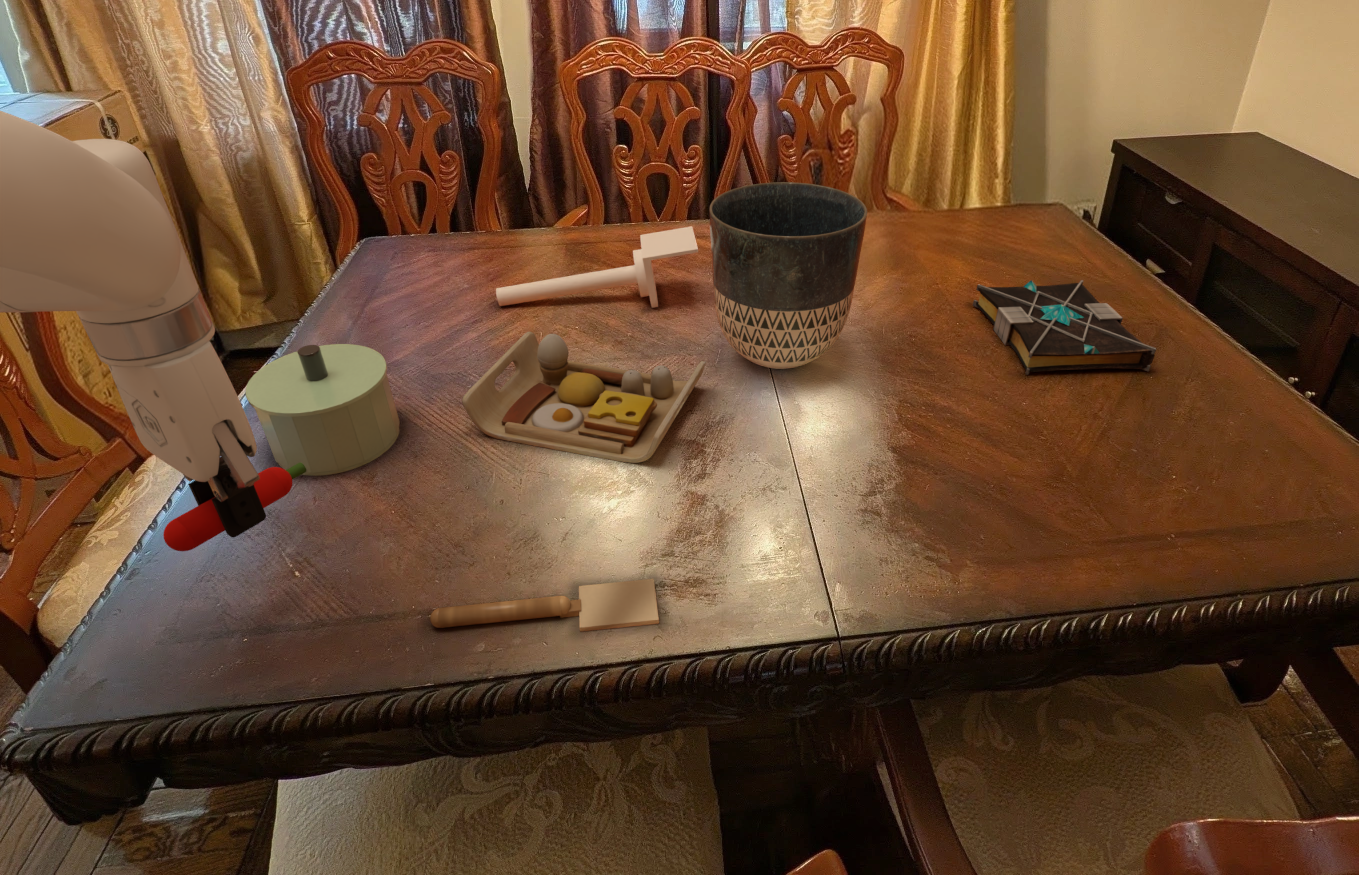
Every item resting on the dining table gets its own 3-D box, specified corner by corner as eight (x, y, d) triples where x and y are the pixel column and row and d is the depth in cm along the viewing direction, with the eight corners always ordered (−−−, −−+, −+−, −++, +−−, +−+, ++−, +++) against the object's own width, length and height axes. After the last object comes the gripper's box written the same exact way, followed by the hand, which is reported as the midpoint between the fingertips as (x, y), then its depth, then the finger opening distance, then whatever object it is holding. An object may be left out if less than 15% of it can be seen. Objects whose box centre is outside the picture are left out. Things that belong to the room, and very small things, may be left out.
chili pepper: (182, 563, 64) (168, 537, 62) (164, 550, 65) (150, 523, 63) (317, 484, 72) (308, 459, 70) (298, 474, 73) (289, 449, 72)
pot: (322, 491, 90) (299, 429, 85) (249, 448, 97) (224, 389, 92) (424, 429, 99) (409, 370, 94) (351, 394, 106) (334, 337, 101)
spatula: (428, 647, 72) (424, 634, 70) (436, 604, 76) (432, 591, 75) (659, 623, 73) (658, 610, 72) (653, 582, 77) (653, 569, 76)
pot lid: (300, 437, 85) (286, 401, 82) (221, 394, 92) (207, 359, 89) (415, 374, 95) (407, 340, 92) (336, 340, 102) (326, 307, 100)
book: (1150, 372, 107) (1162, 339, 104) (1025, 377, 106) (1033, 344, 104) (1077, 300, 124) (1086, 270, 122) (970, 304, 124) (976, 274, 121)
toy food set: (467, 434, 98) (456, 381, 94) (534, 362, 112) (526, 313, 108) (662, 470, 92) (660, 415, 87) (707, 389, 106) (707, 338, 101)
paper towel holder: (697, 249, 119) (487, 284, 120) (705, 301, 125) (503, 335, 125) (692, 226, 127) (494, 259, 128) (699, 276, 132) (508, 308, 133)
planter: (686, 376, 108) (684, 223, 96) (738, 315, 123) (742, 175, 110) (826, 407, 102) (843, 246, 89) (864, 338, 116) (883, 192, 103)
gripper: (43, 316, 59) (144, 509, 69) (154, 378, 51) (248, 585, 61) (147, 281, 64) (226, 465, 74) (262, 332, 56) (333, 531, 66)
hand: (235, 518), depth 68 cm, fingers closed on chili pepper, 2 cm apart
